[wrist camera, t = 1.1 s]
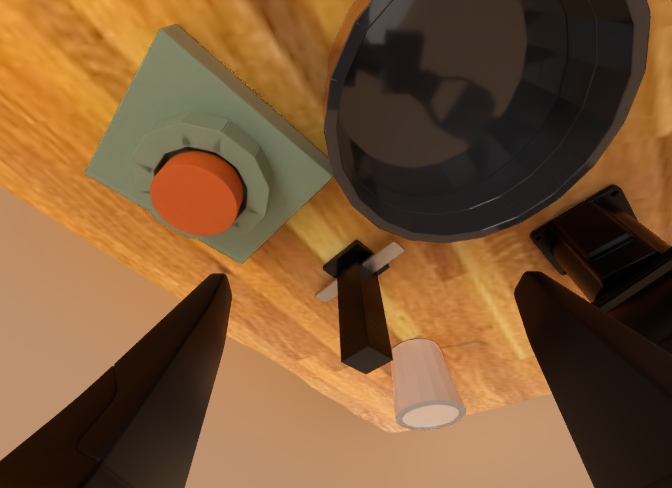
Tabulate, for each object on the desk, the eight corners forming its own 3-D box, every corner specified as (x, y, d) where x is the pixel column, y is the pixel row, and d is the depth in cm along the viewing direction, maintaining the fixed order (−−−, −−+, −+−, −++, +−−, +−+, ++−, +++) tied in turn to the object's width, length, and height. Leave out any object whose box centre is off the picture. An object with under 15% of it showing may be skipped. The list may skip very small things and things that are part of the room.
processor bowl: (611, 92, 19) (684, 120, 15) (419, 231, 25) (436, 276, 21) (495, -176, 13) (572, -245, 9) (274, 101, 19) (262, 132, 15)
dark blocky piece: (380, 220, 25) (403, 315, 18) (411, 247, 26) (443, 342, 19) (303, 281, 28) (298, 377, 22) (336, 300, 30) (340, 395, 23)
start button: (258, 185, 18) (253, 201, 17) (217, 230, 20) (210, 248, 19) (186, 132, 16) (174, 146, 15) (148, 188, 18) (135, 205, 17)
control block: (332, 161, 21) (334, 191, 18) (246, 246, 26) (236, 282, 23) (176, 22, 16) (142, 32, 13) (102, 158, 21) (64, 189, 18)
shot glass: (439, 367, 39) (458, 429, 33) (382, 369, 39) (392, 433, 33) (450, 333, 34) (474, 399, 29) (387, 336, 34) (399, 403, 29)
